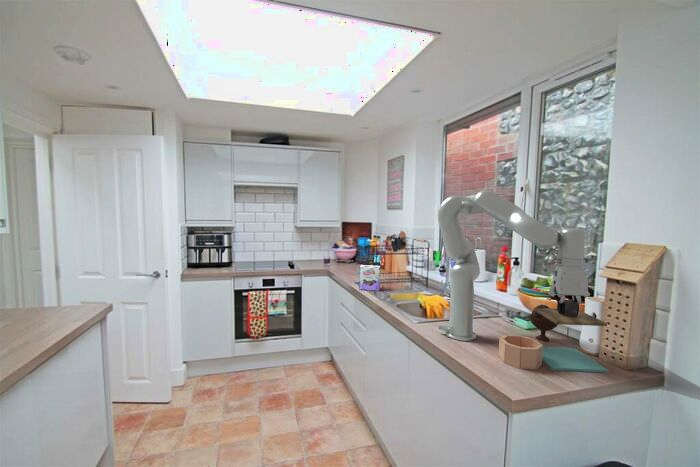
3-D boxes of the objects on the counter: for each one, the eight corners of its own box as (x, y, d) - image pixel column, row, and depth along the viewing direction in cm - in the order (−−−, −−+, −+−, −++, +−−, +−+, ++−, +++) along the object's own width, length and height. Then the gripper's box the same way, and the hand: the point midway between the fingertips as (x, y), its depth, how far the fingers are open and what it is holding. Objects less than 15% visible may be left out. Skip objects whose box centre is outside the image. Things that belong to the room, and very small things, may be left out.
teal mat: (551, 369, 110) (552, 367, 110) (526, 347, 128) (527, 345, 127) (608, 372, 108) (608, 370, 108) (574, 350, 126) (574, 348, 126)
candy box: (358, 290, 218) (359, 265, 217) (359, 288, 224) (360, 264, 223) (379, 291, 216) (379, 266, 215) (379, 289, 222) (380, 265, 221)
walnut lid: (556, 324, 109) (557, 306, 109) (533, 310, 125) (534, 295, 125) (606, 326, 108) (607, 308, 108) (576, 311, 124) (577, 296, 124)
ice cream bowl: (562, 345, 130) (565, 309, 129) (532, 343, 133) (534, 306, 132) (552, 336, 141) (554, 302, 140) (524, 333, 143) (526, 300, 142)
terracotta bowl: (508, 368, 110) (509, 347, 110) (494, 352, 123) (495, 334, 123) (547, 370, 109) (548, 349, 109) (529, 353, 122) (530, 335, 122)
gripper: (551, 263, 113) (549, 315, 114) (602, 265, 111) (599, 317, 112) (540, 260, 120) (538, 309, 121) (588, 261, 119) (585, 311, 120)
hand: (567, 312), depth 117 cm, fingers closed on walnut lid, 4 cm apart
